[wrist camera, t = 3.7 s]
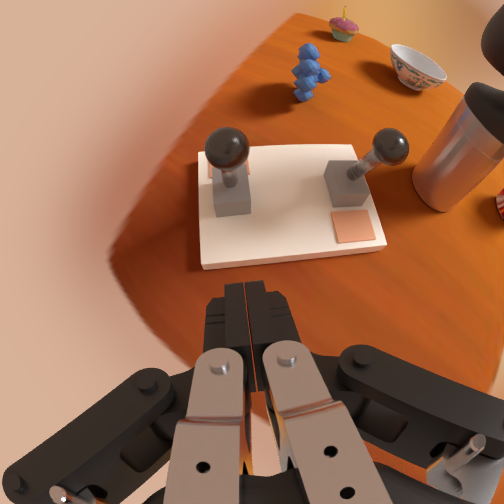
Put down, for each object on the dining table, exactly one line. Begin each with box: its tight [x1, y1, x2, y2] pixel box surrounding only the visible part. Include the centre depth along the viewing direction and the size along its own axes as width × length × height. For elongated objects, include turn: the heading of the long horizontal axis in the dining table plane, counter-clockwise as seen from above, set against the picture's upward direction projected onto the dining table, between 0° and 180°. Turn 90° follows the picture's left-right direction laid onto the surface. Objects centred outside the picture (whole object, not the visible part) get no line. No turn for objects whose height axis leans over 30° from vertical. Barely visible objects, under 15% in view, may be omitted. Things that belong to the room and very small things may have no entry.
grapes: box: [291, 43, 331, 102], centre depth 37 cm, size 12×7×12 cm, turn 171°
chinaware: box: [390, 44, 447, 91], centre depth 45 cm, size 15×15×8 cm
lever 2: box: [346, 128, 409, 181], centre depth 24 cm, size 3×3×11 cm
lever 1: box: [205, 127, 250, 188], centre depth 23 cm, size 3×3×11 cm
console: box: [198, 144, 387, 270], centre depth 32 cm, size 16×22×5 cm
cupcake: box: [329, 7, 359, 42], centre depth 50 cm, size 9×8×12 cm
